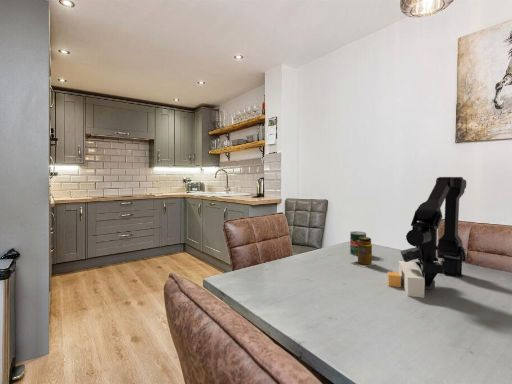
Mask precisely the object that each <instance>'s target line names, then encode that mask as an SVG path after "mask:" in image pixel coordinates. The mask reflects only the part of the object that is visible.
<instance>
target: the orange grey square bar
mask: <svg viewBox="0 0 512 384" xmlns="http://www.w3.org/2000/svg"><path fill="white" fill-rule="evenodd" d="M387 284H388V287H395V288H396V287H398V288H401V287H404V276H401V275H400V273H399V272H395V271H394V272H393V271H387ZM424 290H432V291H433V290H436V281H435V280H433V281H432V283H431V285H430V286H429V287H427V286H426V285H425V289H424Z"/></svg>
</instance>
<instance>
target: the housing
mask: <svg viewBox="0 0 512 384" xmlns="http://www.w3.org/2000/svg"><path fill="white" fill-rule="evenodd" d="M398 273H400V275H401V276H404V288H403V290H404V291H405V293H406V294H405V295H407V297H414V298H423V299H424V298H425V290H426V289H425V279H424V277H423V276H422V273H421V270H419V267H417V266H416V263H415V262H414V261H409V262H404V260H398Z"/></svg>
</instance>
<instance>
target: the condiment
mask: <svg viewBox="0 0 512 384" xmlns="http://www.w3.org/2000/svg"><path fill="white" fill-rule="evenodd" d="M372 248H373V244H372V238H371V237H367V236H366V237H360V238H359V243H358V255H357V261H354V262H351V264H353V265H356V266H358V267H363V268H367V267H370V266H371V267H372V266H373V265H375V263H374V262H372V261H373V258H372V257H373V256H372V255H373V253H372V252H373V249H372Z"/></svg>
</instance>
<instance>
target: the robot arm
mask: <svg viewBox="0 0 512 384" xmlns="http://www.w3.org/2000/svg"><path fill="white" fill-rule="evenodd" d="M466 188H467V180H466V179H464V178H463V177H462V176H439V177H437V178H436V179H435V185H434V186H433V188H432V191H431V192H430V194H429V196H428V197H427V200H426V201H424V202H422V203H421V204H420V205H418V207H417V209H415V211H414V215H413V218H412V221H411V223H410V226H411V227H412V228H411V229H410V230H409V231H408V232H407V233H406V236H405V238H406V239H405V240H406V241H407V243H408V244H409V245H410V246H412V248H411V247H410V248H407V249H403V250H400V255H401V257H402V259H403V260H402V261H404V262H412V261H414V260H417V261H415V262H414V264H415V265H417V266H418V269H420V270H419V271H420V273H421V274H422V276H423V277H424V279H425V285H426V286H427V287H429V286H430V285H431V283H432V281H433V280H434V279H436V277H437V275H439V274H441V275H444V276H452V277H464V274H463V273H462V271H463V262H467V253H466V251H465V248H464V246H463V240H462V239H461V238H460V236H459V217H460V215H459V214H460V211H459V210H460V199H461V197H463V195H464V194H465V189H466ZM443 203H444V221H443V222H444V225H443V235H442V236H441V237H440V238H439V239H438V229H439V227H440V224H441V222H442V220H443V212H442V210H441V209H442V205H443ZM439 258H440V259H441V260H440V262H439ZM434 281H435V280H434Z"/></svg>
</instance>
